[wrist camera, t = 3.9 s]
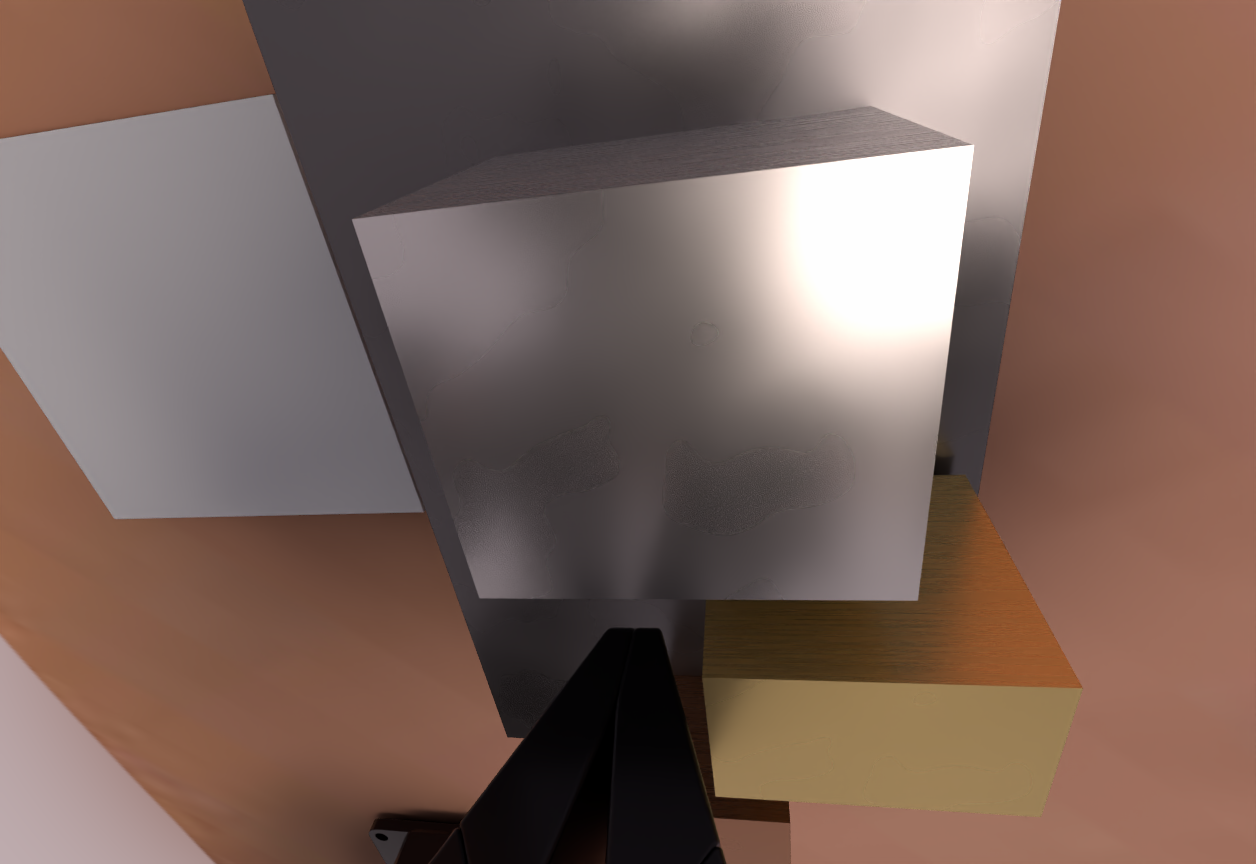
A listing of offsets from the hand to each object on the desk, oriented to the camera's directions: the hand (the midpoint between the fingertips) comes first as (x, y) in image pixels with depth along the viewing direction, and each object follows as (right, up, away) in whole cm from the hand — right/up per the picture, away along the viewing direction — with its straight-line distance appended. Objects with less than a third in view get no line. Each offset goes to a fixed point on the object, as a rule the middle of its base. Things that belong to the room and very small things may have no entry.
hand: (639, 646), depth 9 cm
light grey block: (+1, +5, 0) cm, 5 cm away
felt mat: (-10, +5, +5) cm, 12 cm away
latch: (+3, +1, +2) cm, 4 cm away
